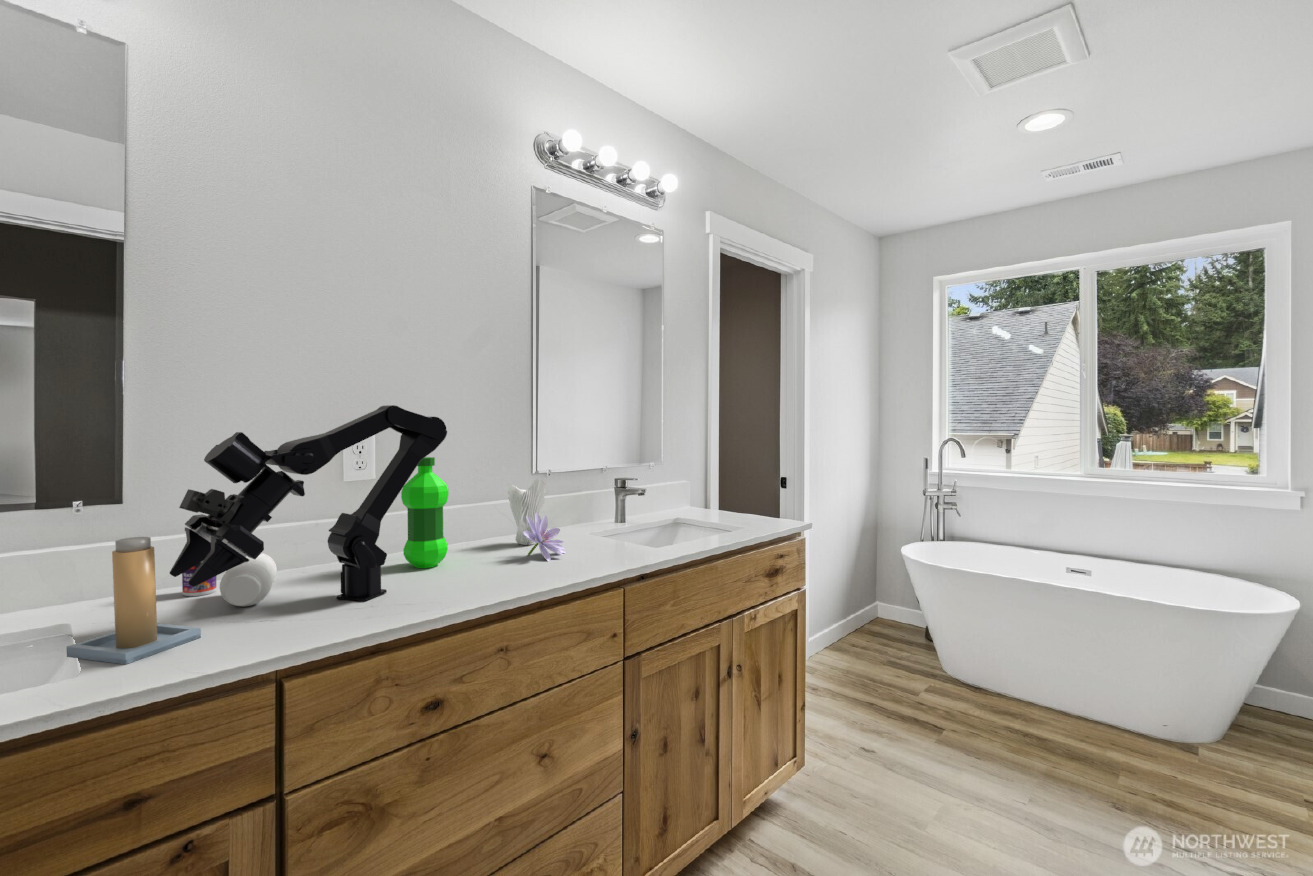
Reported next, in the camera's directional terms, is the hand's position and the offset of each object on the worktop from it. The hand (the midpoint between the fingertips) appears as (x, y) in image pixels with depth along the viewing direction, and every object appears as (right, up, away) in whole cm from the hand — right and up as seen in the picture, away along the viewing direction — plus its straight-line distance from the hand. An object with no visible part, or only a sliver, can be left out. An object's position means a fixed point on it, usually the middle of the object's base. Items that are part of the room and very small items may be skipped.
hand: (181, 580), depth 98 cm
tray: (-3, -9, -4) cm, 11 cm away
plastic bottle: (+21, -8, +48) cm, 52 cm away
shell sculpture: (+39, -7, +72) cm, 82 cm away
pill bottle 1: (-15, -8, +24) cm, 30 cm away
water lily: (+47, -7, +57) cm, 74 cm away
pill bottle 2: (-5, -4, +26) cm, 27 cm away
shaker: (-3, -8, -4) cm, 10 cm away
